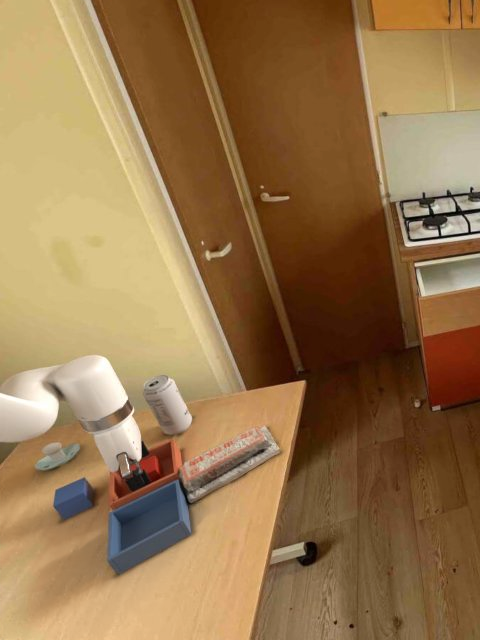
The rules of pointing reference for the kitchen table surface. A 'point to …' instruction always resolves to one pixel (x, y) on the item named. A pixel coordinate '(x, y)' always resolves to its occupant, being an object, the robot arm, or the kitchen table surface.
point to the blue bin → (147, 526)
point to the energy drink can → (167, 404)
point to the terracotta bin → (171, 466)
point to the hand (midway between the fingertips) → (141, 471)
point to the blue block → (73, 498)
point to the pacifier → (56, 455)
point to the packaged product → (226, 462)
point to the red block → (151, 468)
